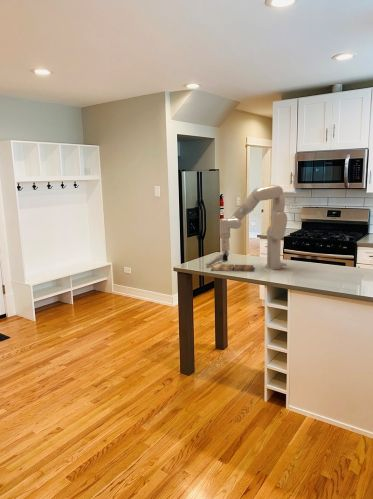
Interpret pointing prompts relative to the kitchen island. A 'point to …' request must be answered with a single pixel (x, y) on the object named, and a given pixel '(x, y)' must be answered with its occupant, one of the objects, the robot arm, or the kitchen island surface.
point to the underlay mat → (233, 270)
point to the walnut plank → (243, 268)
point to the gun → (216, 260)
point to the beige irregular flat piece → (223, 267)
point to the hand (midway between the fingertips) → (225, 260)
